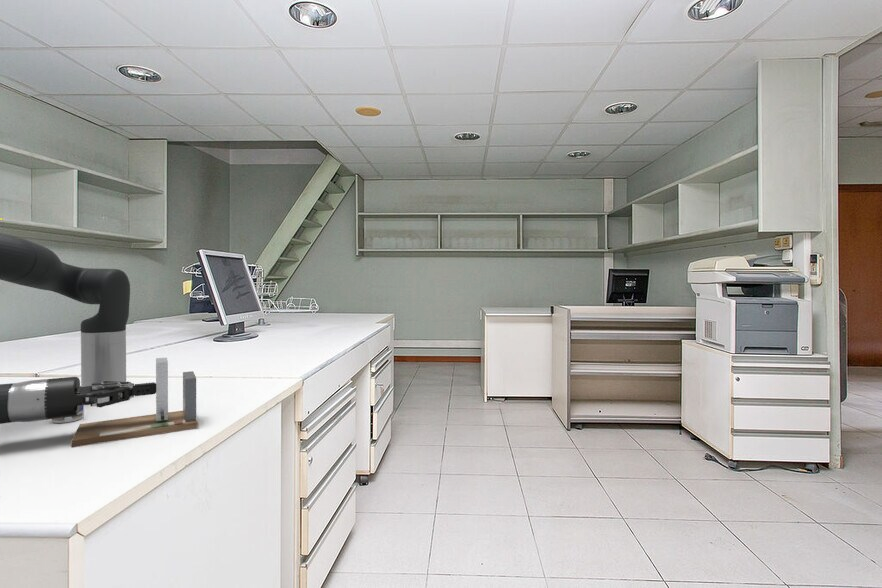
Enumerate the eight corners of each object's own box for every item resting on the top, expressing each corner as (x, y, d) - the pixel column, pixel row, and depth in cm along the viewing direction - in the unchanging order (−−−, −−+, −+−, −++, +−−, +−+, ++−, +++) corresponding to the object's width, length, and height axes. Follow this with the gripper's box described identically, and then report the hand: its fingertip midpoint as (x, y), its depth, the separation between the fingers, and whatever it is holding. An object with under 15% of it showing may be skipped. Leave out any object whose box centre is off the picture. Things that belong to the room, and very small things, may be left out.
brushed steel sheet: (156, 413, 94) (155, 358, 94) (167, 412, 95) (166, 357, 95) (156, 425, 86) (156, 365, 86) (168, 424, 88) (168, 364, 87)
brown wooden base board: (79, 429, 89) (79, 422, 89) (192, 414, 100) (192, 407, 100) (71, 447, 80) (71, 439, 80) (196, 428, 91) (196, 421, 91)
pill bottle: (82, 414, 99) (82, 375, 99) (85, 420, 95) (84, 379, 95) (50, 419, 95) (50, 378, 95) (52, 425, 91) (52, 383, 91)
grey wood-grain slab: (182, 412, 98) (182, 372, 97) (193, 410, 99) (193, 371, 98) (185, 422, 91) (185, 379, 91) (196, 420, 92) (196, 377, 92)
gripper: (38, 386, 76) (156, 376, 86) (52, 373, 87) (155, 364, 97) (38, 429, 77) (156, 413, 86) (52, 410, 88) (156, 398, 97)
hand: (156, 388), depth 92 cm, fingers closed
